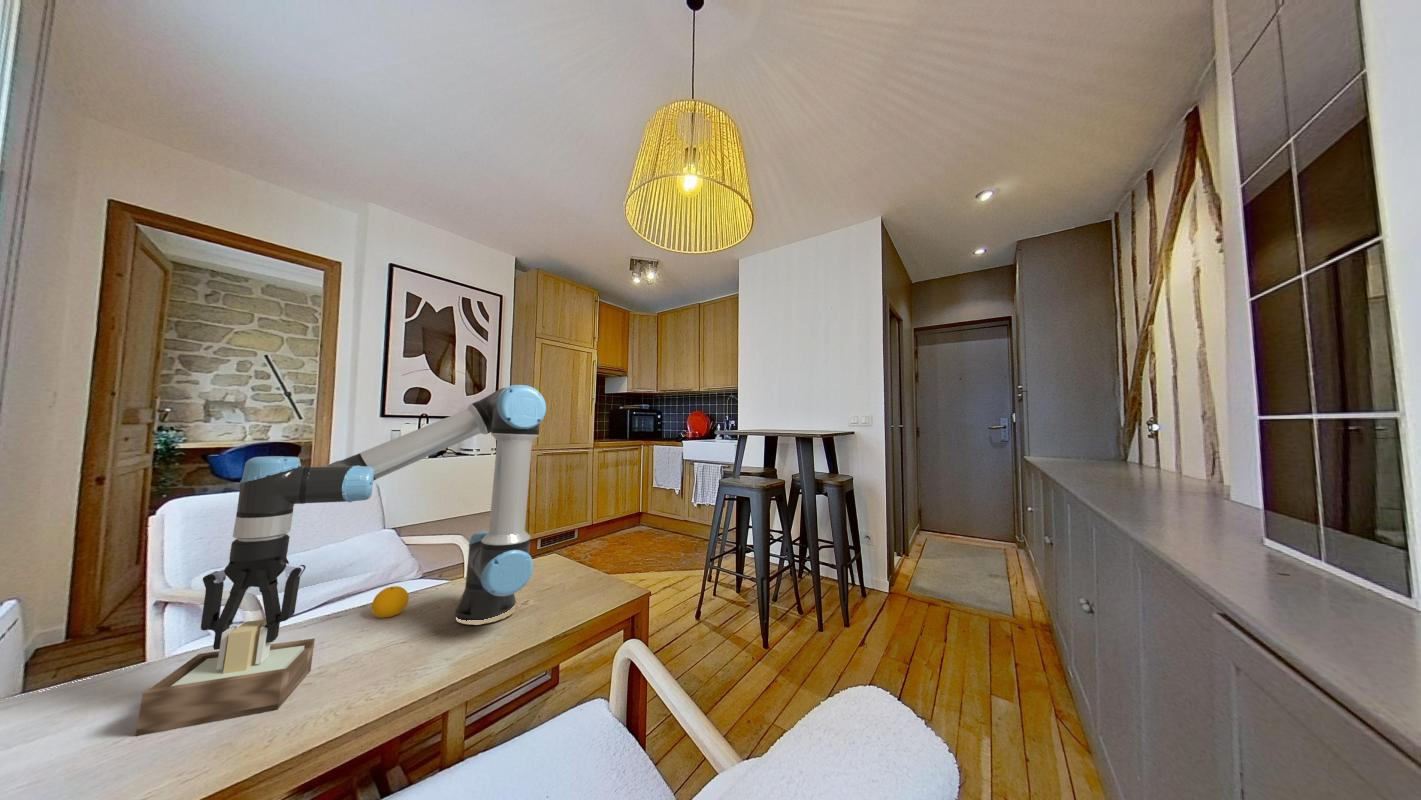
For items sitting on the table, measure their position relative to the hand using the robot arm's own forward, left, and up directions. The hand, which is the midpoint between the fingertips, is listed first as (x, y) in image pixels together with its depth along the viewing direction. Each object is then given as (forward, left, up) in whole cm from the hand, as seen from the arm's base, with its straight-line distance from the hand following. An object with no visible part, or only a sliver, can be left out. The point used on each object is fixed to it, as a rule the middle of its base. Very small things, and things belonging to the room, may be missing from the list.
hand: (243, 662), depth 75 cm
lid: (0, 0, -1) cm, 1 cm away
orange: (-15, -32, -7) cm, 36 cm away
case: (+1, 0, -6) cm, 6 cm away
